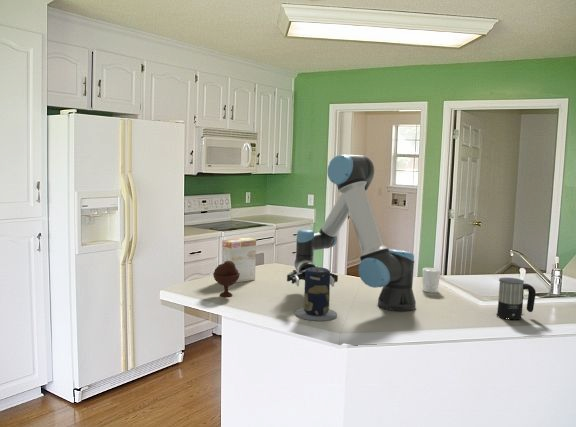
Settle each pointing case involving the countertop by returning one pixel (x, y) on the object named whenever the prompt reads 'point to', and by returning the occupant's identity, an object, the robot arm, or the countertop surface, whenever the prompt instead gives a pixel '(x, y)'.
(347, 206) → the robot arm
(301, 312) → the disc
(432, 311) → the countertop surface
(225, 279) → the ice cream bowl
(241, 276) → the coffeecake box
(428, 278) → the white cup
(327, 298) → the canister
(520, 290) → the milk frother
